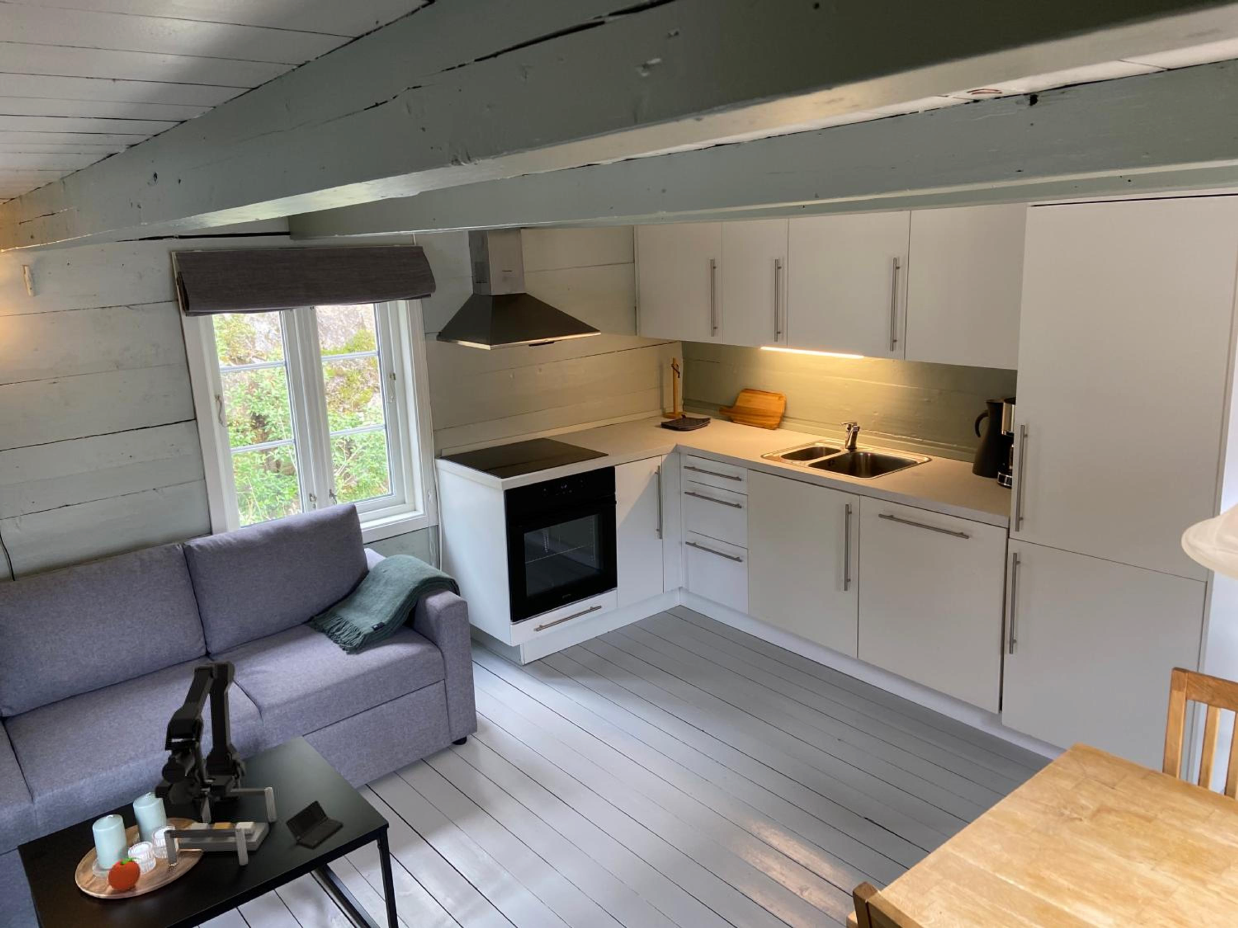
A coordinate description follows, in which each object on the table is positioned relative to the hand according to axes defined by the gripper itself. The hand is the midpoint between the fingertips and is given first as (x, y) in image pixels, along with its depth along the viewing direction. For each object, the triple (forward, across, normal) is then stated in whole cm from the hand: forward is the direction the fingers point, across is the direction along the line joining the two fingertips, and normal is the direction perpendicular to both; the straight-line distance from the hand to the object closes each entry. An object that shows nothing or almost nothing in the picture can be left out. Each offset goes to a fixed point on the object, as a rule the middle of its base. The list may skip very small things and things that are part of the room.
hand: (199, 815), depth 236 cm
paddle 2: (+5, +12, 0) cm, 13 cm away
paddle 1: (+5, 0, 0) cm, 5 cm away
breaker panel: (+8, +6, 0) cm, 9 cm away
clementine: (+8, -10, -17) cm, 21 cm away
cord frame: (+8, +6, 0) cm, 9 cm away
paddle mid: (+5, +6, 0) cm, 7 cm away
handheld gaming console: (+8, +29, +3) cm, 30 cm away
